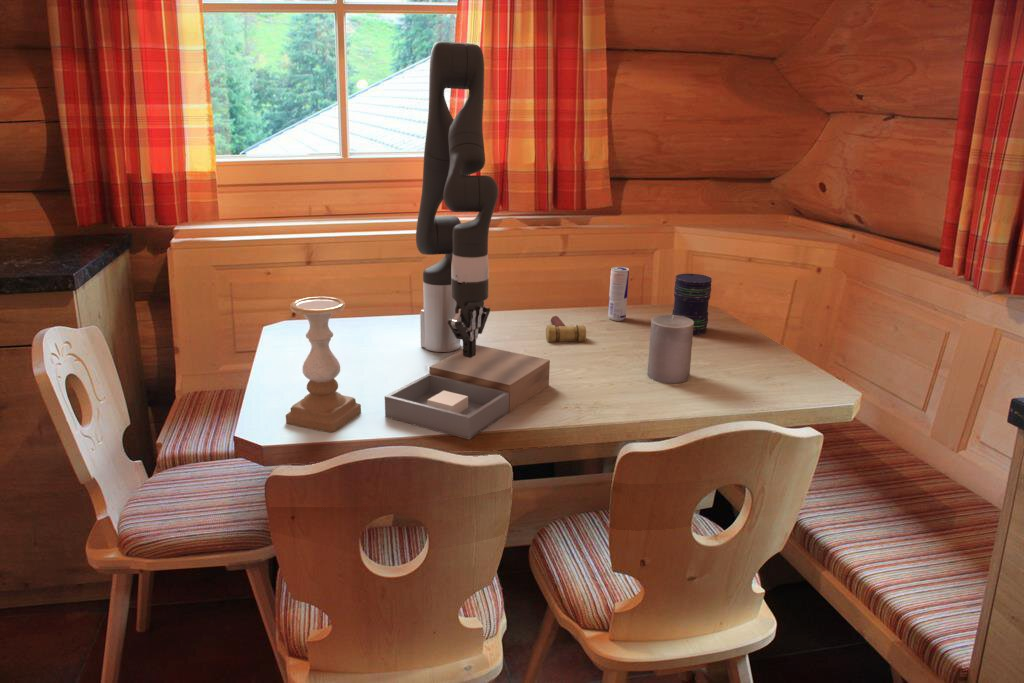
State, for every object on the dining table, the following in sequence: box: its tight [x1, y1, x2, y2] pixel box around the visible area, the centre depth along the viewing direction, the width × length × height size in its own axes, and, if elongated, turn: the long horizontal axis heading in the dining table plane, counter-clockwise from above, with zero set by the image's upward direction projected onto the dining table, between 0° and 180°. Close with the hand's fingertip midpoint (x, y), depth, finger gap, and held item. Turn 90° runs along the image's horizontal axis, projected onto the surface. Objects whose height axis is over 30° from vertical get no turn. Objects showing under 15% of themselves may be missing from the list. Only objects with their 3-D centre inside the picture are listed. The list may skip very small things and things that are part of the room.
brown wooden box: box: [428, 344, 551, 413], centre depth 176 cm, size 20×18×6 cm
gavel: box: [545, 315, 587, 343], centre depth 218 cm, size 21×5×10 cm
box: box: [384, 373, 510, 441], centre depth 162 cm, size 20×15×4 cm
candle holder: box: [285, 296, 362, 433], centre depth 157 cm, size 11×11×24 cm
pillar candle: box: [646, 314, 694, 384], centre depth 184 cm, size 10×10×15 cm
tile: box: [427, 391, 468, 413], centre depth 164 cm, size 6×6×2 cm
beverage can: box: [607, 266, 630, 322], centre depth 228 cm, size 5×5×15 cm
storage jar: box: [671, 273, 713, 337], centre depth 219 cm, size 10×10×15 cm
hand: (469, 356), depth 167 cm, fingers closed
